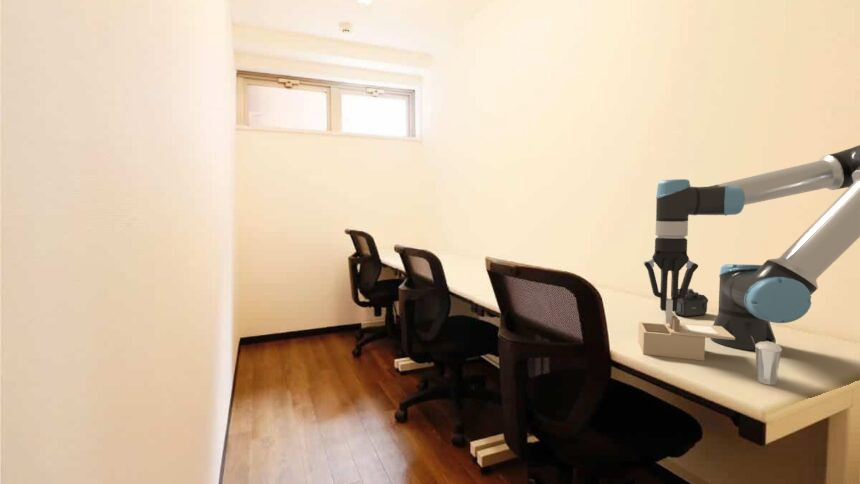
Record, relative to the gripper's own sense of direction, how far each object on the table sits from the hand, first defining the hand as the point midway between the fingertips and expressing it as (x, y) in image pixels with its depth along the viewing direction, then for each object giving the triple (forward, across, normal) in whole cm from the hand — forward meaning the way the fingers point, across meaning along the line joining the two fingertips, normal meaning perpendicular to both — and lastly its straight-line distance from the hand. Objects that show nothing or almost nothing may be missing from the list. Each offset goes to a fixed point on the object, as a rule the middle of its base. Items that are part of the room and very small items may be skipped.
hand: (667, 322), depth 111 cm
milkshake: (+8, -16, +16) cm, 24 cm away
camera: (+8, -15, -48) cm, 51 cm away
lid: (+2, -7, 0) cm, 7 cm away
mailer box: (+8, 0, 0) cm, 8 cm away
